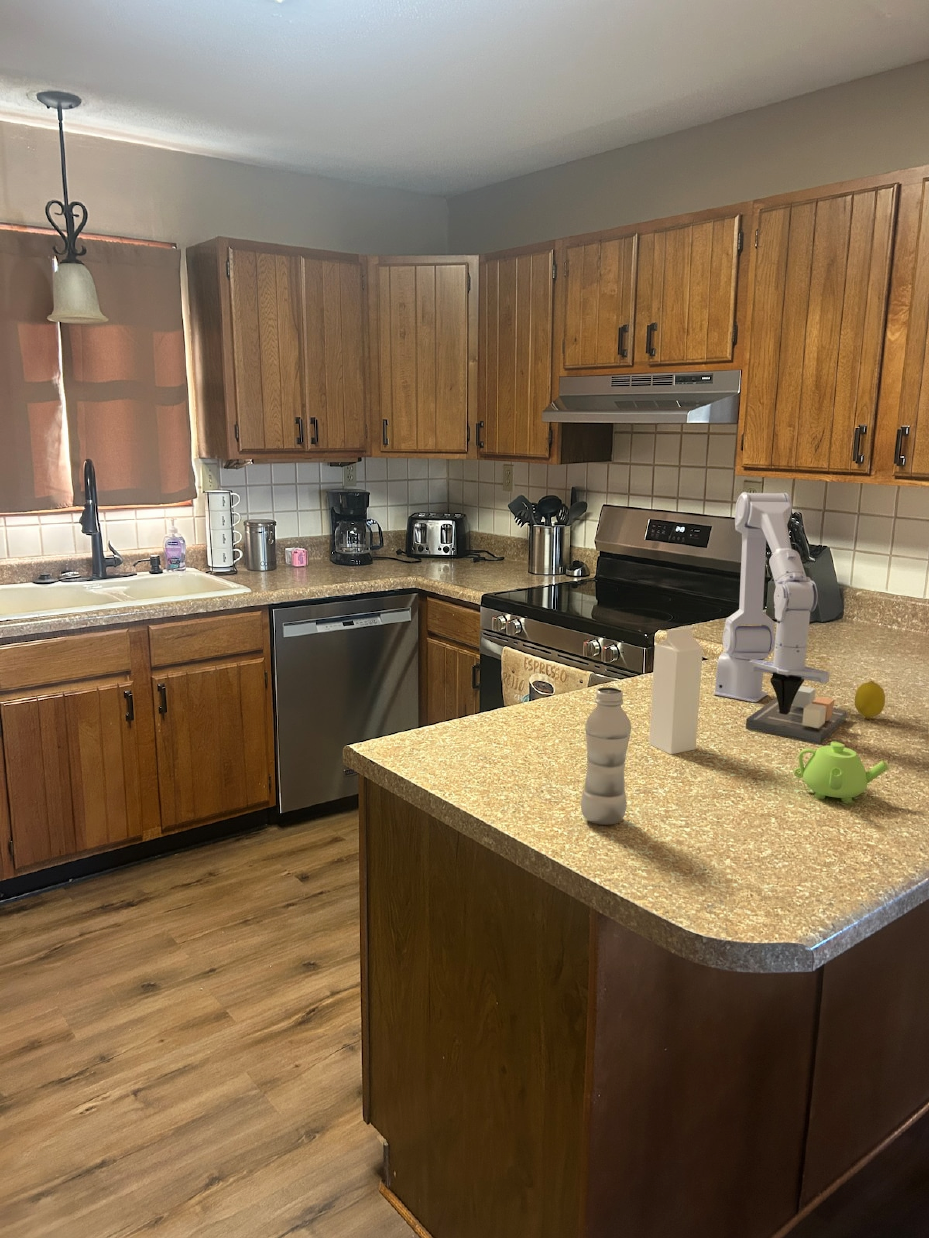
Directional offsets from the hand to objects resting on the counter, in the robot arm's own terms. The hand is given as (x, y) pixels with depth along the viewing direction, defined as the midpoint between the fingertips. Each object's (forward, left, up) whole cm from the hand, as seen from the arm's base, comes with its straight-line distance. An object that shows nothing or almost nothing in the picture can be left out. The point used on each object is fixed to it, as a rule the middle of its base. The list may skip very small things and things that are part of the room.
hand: (784, 712), depth 174 cm
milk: (-13, -22, -4) cm, 26 cm away
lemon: (+11, +18, -4) cm, 22 cm away
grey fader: (+1, +11, -1) cm, 11 cm away
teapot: (+17, -26, -4) cm, 31 cm away
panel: (+1, +5, -3) cm, 7 cm away
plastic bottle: (-8, -58, -4) cm, 59 cm away
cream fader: (+6, 0, -1) cm, 6 cm away
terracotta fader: (+6, +5, -1) cm, 8 cm away
